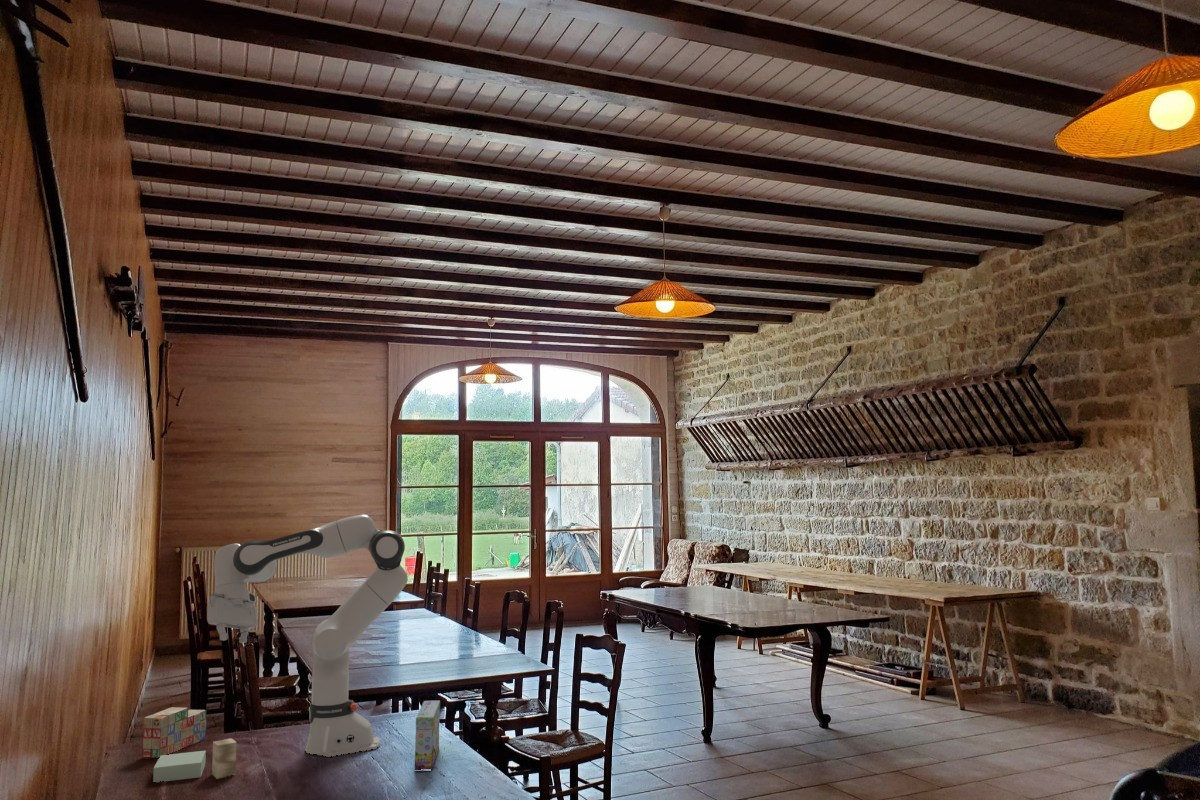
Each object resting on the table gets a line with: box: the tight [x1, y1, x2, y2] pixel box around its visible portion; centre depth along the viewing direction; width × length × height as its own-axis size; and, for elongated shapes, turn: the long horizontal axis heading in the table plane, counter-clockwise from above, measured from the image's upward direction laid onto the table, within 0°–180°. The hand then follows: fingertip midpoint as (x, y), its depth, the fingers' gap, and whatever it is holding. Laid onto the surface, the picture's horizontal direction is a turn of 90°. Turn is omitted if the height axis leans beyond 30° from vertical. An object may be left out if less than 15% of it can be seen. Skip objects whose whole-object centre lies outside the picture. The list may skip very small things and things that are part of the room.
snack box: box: [414, 699, 441, 770], centre depth 248 cm, size 21×6×15 cm, turn 6°
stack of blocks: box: [141, 706, 207, 758], centre depth 265 cm, size 21×6×12 cm, turn 168°
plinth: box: [152, 750, 207, 783], centre depth 240 cm, size 12×12×4 cm
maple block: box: [211, 738, 237, 780], centre depth 238 cm, size 5×5×9 cm
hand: (233, 641), depth 253 cm, fingers open, 8 cm apart
